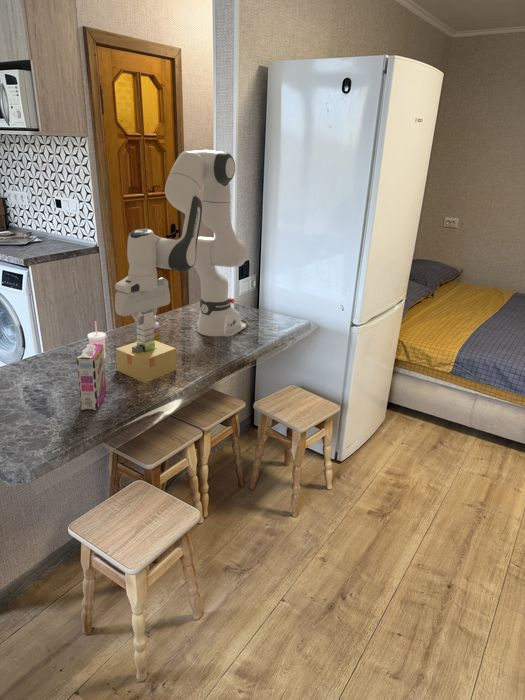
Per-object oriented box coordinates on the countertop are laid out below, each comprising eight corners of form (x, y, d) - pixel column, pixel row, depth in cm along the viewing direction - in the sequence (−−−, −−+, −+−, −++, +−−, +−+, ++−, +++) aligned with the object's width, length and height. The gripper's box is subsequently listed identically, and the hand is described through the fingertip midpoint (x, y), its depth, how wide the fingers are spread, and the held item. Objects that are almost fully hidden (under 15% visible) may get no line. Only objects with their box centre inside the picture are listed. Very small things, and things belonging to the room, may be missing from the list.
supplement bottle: (155, 352, 180) (154, 319, 175) (139, 350, 181) (137, 317, 176) (162, 346, 186) (161, 314, 181) (146, 344, 187) (145, 312, 182)
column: (147, 353, 166) (145, 308, 160) (155, 356, 164) (153, 311, 158) (137, 356, 163) (135, 311, 157) (145, 360, 161) (143, 314, 155)
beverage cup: (96, 353, 176) (93, 317, 171) (111, 356, 175) (108, 319, 169) (85, 359, 171) (82, 322, 165) (100, 362, 169) (97, 325, 164)
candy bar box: (98, 411, 139) (94, 358, 132) (80, 410, 138) (75, 358, 132) (107, 393, 149) (103, 343, 143) (91, 392, 149) (86, 343, 142)
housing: (149, 358, 175) (148, 334, 171) (176, 369, 167) (176, 344, 163) (116, 370, 164) (114, 344, 160) (144, 383, 156) (143, 356, 153)
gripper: (161, 275, 163) (162, 313, 169) (110, 285, 148) (113, 327, 153) (174, 278, 160) (174, 318, 165) (123, 289, 145) (126, 332, 150)
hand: (144, 322), depth 159 cm, fingers closed on column, 4 cm apart
